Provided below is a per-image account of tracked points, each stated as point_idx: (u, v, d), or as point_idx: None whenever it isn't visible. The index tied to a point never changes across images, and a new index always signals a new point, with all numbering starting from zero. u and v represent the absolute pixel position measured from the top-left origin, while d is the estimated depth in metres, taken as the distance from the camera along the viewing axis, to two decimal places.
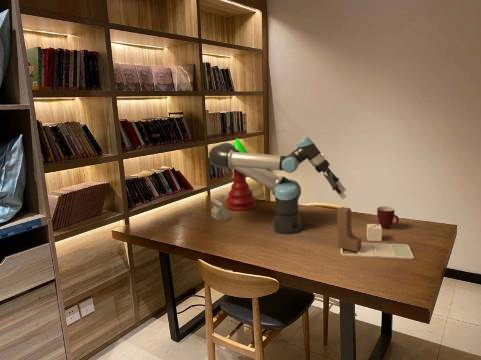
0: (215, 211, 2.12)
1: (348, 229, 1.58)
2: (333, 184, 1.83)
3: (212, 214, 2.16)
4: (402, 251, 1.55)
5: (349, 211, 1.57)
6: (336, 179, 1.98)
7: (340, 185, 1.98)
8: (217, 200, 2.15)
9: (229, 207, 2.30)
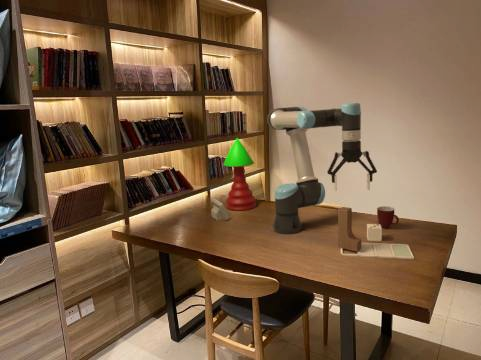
0: (215, 211, 2.12)
1: (348, 229, 1.58)
2: (329, 168, 1.57)
3: (212, 214, 2.16)
4: (402, 251, 1.55)
5: (350, 211, 1.57)
6: None
7: (367, 180, 1.54)
8: (217, 200, 2.15)
9: (229, 207, 2.30)
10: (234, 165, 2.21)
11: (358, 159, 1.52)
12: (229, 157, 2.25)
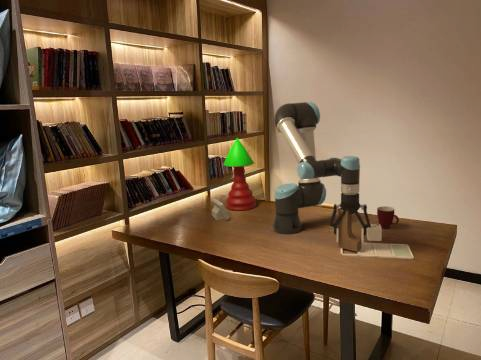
0: (215, 211, 2.12)
1: (349, 229, 1.58)
2: (330, 221, 1.60)
3: (213, 214, 2.16)
4: (402, 251, 1.55)
5: None
6: (362, 225, 1.56)
7: (361, 234, 1.57)
8: (217, 200, 2.15)
9: (229, 207, 2.30)
10: (234, 165, 2.21)
11: (355, 212, 1.55)
12: (229, 157, 2.25)
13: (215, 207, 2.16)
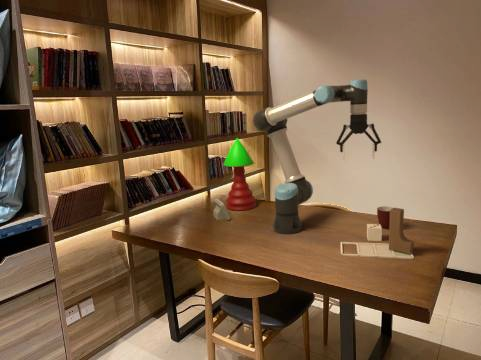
0: (217, 211, 2.12)
1: (401, 230, 1.53)
2: None
3: (214, 214, 2.16)
4: None
5: (402, 212, 1.52)
6: None
7: (372, 150, 1.71)
8: (219, 200, 2.14)
9: (229, 207, 2.30)
10: (234, 165, 2.21)
11: (364, 130, 1.69)
12: (229, 157, 2.25)
13: (217, 207, 2.15)
